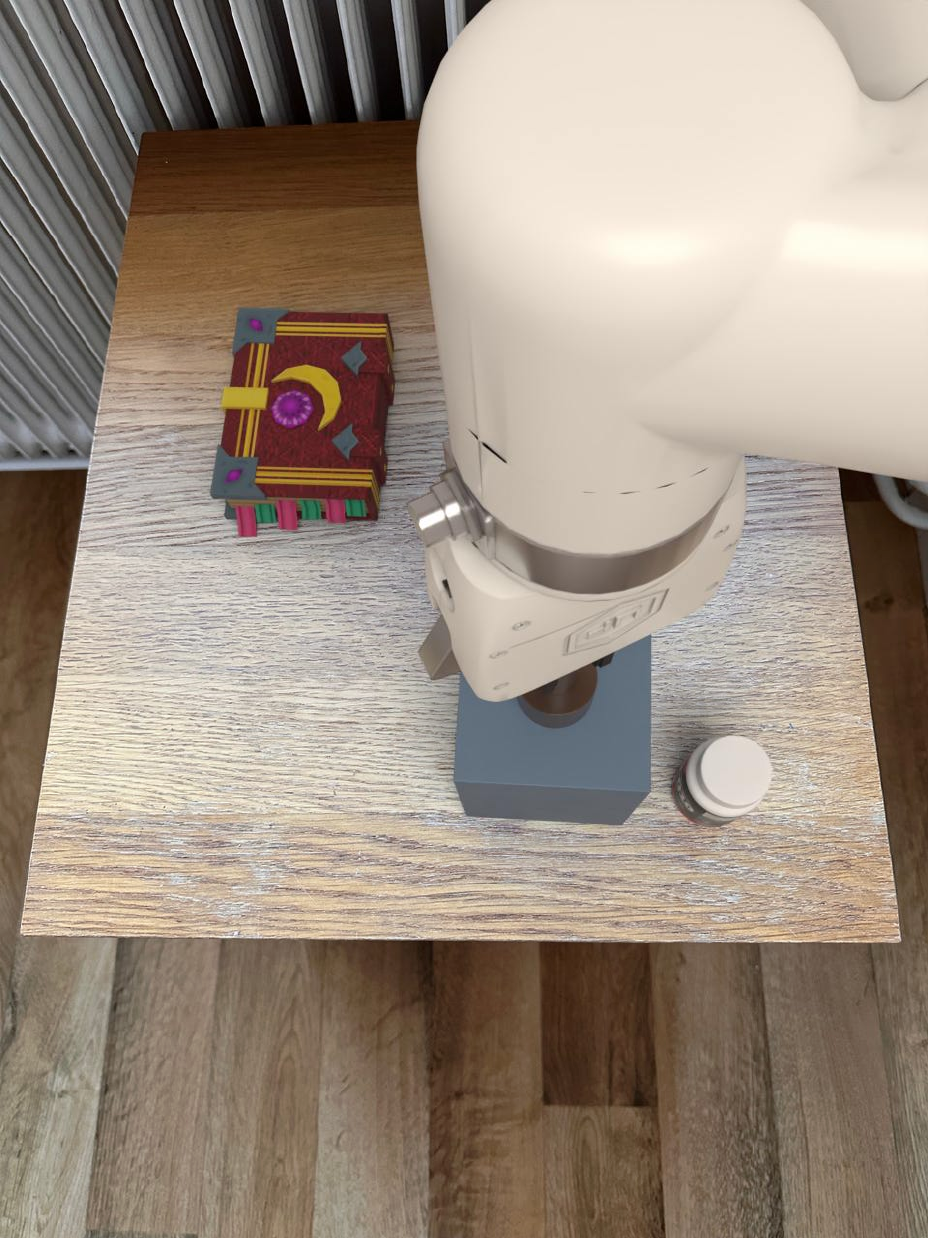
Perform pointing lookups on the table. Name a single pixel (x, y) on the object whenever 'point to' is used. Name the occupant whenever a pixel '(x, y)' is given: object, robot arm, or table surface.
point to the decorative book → (305, 418)
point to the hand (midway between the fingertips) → (560, 649)
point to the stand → (560, 752)
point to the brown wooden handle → (562, 699)
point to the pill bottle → (722, 781)
